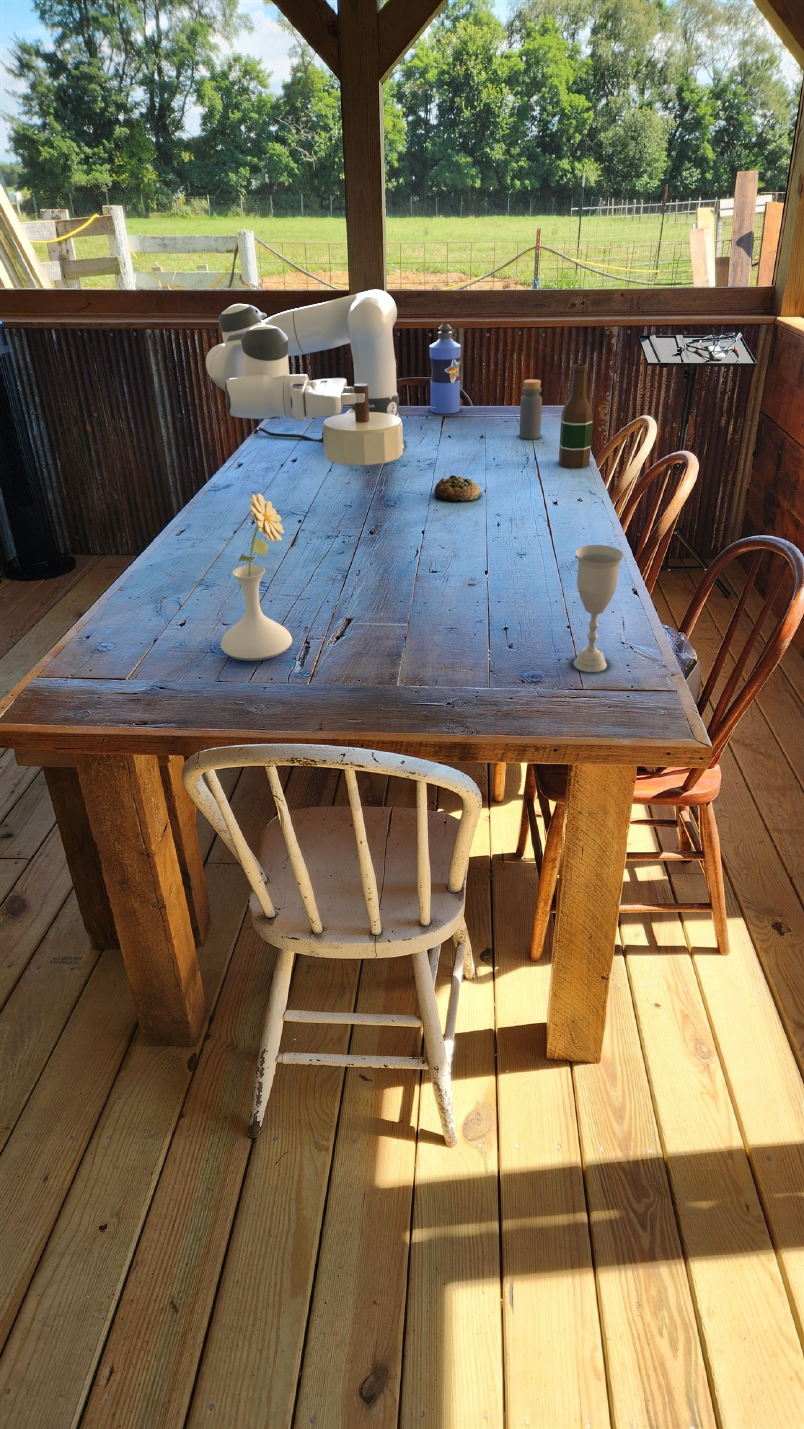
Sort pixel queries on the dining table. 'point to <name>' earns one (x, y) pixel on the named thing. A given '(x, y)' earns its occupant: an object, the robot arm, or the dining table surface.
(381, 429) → the lid
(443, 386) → the water bottle
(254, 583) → the flower in vase
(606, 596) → the chalice
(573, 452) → the beer bottle
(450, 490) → the bread roll
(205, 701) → the dining table surface
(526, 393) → the bottle
